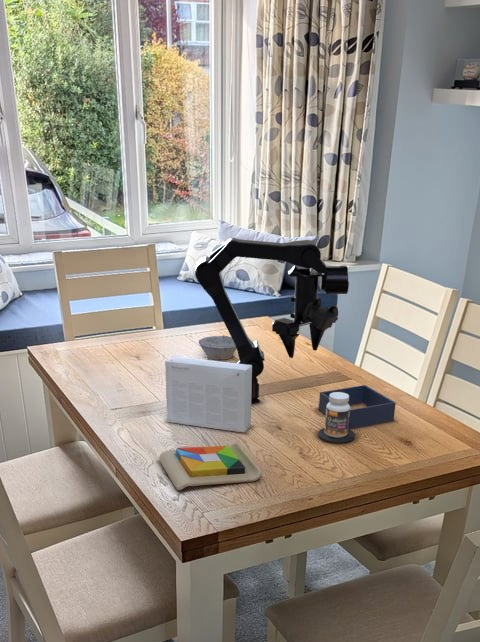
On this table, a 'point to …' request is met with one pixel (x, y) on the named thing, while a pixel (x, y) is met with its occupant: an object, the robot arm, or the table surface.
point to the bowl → (218, 347)
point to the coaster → (342, 440)
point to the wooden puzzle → (208, 465)
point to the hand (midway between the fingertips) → (303, 354)
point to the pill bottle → (337, 415)
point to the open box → (375, 413)
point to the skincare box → (209, 393)
